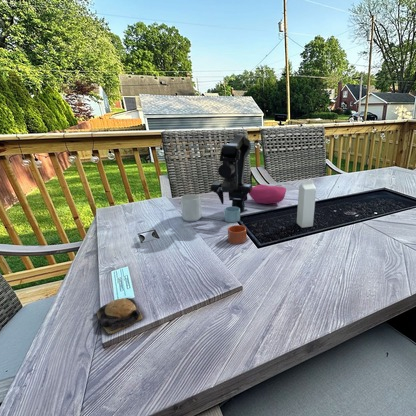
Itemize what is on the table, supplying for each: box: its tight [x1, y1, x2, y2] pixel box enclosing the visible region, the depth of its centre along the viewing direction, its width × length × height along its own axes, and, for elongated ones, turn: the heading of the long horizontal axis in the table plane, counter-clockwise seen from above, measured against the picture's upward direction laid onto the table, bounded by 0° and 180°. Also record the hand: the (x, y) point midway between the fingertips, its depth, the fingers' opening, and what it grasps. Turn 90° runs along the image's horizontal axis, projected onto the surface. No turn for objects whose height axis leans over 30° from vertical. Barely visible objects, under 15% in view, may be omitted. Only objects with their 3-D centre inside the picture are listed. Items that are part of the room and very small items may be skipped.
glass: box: [223, 205, 241, 223], centre depth 128 cm, size 7×7×6 cm
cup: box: [227, 224, 247, 245], centre depth 107 cm, size 7×7×5 cm
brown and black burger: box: [96, 297, 144, 336], centre depth 65 cm, size 11×8×4 cm
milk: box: [296, 179, 317, 229], centre depth 123 cm, size 6×6×22 cm
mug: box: [180, 193, 203, 223], centre depth 126 cm, size 12×9×11 cm
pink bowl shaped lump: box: [248, 184, 287, 205], centre depth 155 cm, size 23×19×10 cm
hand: (232, 204), depth 126 cm, fingers open, 9 cm apart
